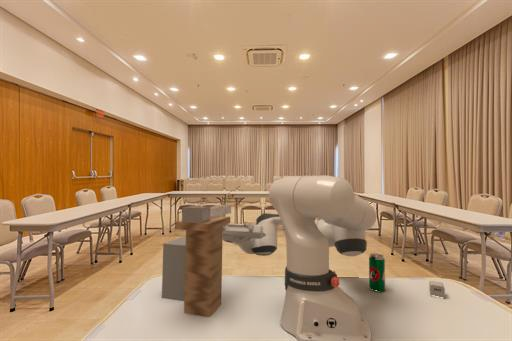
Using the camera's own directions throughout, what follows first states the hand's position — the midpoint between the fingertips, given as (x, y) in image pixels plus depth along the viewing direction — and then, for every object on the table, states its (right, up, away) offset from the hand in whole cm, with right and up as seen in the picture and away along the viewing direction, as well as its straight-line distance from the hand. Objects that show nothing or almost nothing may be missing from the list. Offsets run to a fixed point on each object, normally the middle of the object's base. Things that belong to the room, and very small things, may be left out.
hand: (234, 223), depth 103 cm
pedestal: (-16, -20, -12) cm, 29 cm away
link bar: (-5, +6, -20) cm, 21 cm away
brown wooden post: (-7, -20, -26) cm, 33 cm away
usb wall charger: (+70, -22, -14) cm, 74 cm away
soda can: (+51, -21, -11) cm, 56 cm away
